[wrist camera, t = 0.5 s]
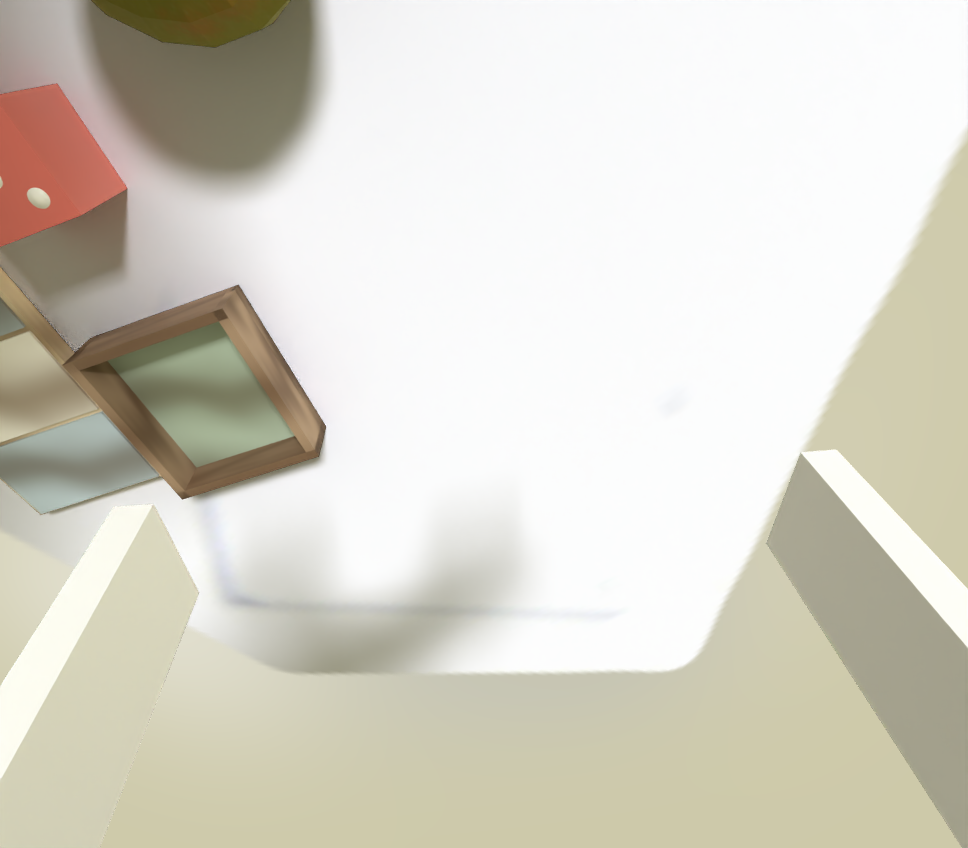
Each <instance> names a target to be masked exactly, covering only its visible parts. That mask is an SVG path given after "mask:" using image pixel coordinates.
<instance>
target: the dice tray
mask: <svg viewBox="0 0 968 848" xmlns="http://www.w3.org/2000/svg"><path fill="white" fill-rule="evenodd" d="M62 366H63V367H64V368H65V369H66V370H67V372H68V373H69V374H70V375H71V376H72V377H73V378H74V379H75V380H76V382H77V383H78V384H79V385H80V386H81V387H82V388H83V389H84V390H85V392H86V393H87V394H88V395H89V396H90V397H91V398H92V399H93V401H94V402H95V403H96V404H97V405H98V406H99V407H100V408H101V409H102V411H103V412H104V413H105V414H106V415H107V416H108V417H109V418H110V419H111V421H112V422H113V423H114V424H115V425H116V426H117V427H118V428H119V429H120V431H121V432H122V433H123V434H124V435H125V436H126V437H127V438H128V440H129V441H130V442H131V443H132V444H133V445H134V446H135V447H136V448H137V450H138V451H139V452H140V453H141V454H142V455H143V456H144V457H145V458H146V460H147V461H148V462H149V463H150V464H151V465H152V466H153V467H154V468H155V470H156V471H157V472H158V473H159V474H160V475H161V476H162V477H163V479H164V480H165V481H166V482H167V483H168V484H169V485H170V486H171V487H172V489H173V490H174V491H175V492H176V493H177V494H178V495H179V496H180V497H181V499H186V498H189V497H192V496H195V495H198V494H201V493H205V492H208V491H211V490H214V489H217V488H220V487H224V486H227V485H230V484H233V483H236V482H239V481H243V480H246V479H249V478H252V477H255V476H259V475H262V474H265V473H268V472H271V471H274V470H278V469H281V468H284V467H287V466H290V465H293V464H297V463H300V462H303V461H306V460H309V459H312V458H316V457H319V454H320V450H321V446H322V442H323V438H324V433H325V429H326V426H325V424H324V422H323V421H322V419H321V418H320V416H319V414H318V413H317V411H316V409H315V408H314V406H313V405H312V403H311V401H310V400H309V398H308V396H307V395H306V393H305V392H304V390H303V388H302V387H301V385H300V384H299V382H298V380H297V379H296V377H295V375H294V374H293V372H292V371H291V369H290V367H289V366H288V364H287V362H286V361H285V359H284V358H283V356H282V354H281V353H280V351H279V349H278V348H277V346H276V345H275V343H274V341H273V340H272V338H271V337H270V335H269V333H268V332H267V330H266V328H265V327H264V325H263V324H262V322H261V320H260V319H259V317H258V315H257V314H256V312H255V311H254V309H253V307H252V306H251V304H250V302H249V301H248V299H247V298H246V296H245V294H244V293H243V291H242V289H241V288H240V286H239V285H237V286H234V287H231V288H228V289H225V290H223V291H220V292H217V293H214V294H212V295H209V296H206V297H203V298H200V299H198V300H195V301H192V302H189V303H187V304H184V305H181V306H178V307H175V308H173V309H170V310H167V311H164V312H162V313H159V314H156V315H153V316H150V317H148V318H145V319H142V320H139V321H137V322H134V323H131V324H128V325H125V326H123V327H120V328H117V329H114V330H112V331H109V332H106V333H103V334H100V335H98V336H95V337H92V338H90V339H89V340H88V341H87V342H86V343H85V344H84V345H83V346H82V347H80V348H79V349H78V350H77V351H76V352H75V353H74V354H73V355H72V356H71V357H70V358H69V359H68V360H67V361H66V362H65V363H64V364H63V365H62Z"/></svg>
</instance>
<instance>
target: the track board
mask: <svg viewBox="0 0 968 848" xmlns="http://www.w3.org/2000/svg"><path fill="white" fill-rule="evenodd" d="M73 354H74V351H73V350H72V349H71V348H70V347H69V346H68V345H67V343H66V342H65V341H64V340H63V339H62V338H61V336H60V335H59V334H58V333H57V332H56V331H55V330H54V328H53V327H52V326H51V325H50V324H49V323H48V321H47V320H46V319H45V318H44V317H43V316H42V315H41V313H40V312H39V311H38V310H37V309H36V308H35V306H34V305H33V304H32V303H31V302H30V301H29V300H28V298H27V297H26V296H25V295H24V294H23V293H22V292H21V290H20V289H19V288H18V287H17V286H16V285H15V283H14V282H13V281H12V280H11V279H10V278H9V277H8V275H7V274H6V273H5V272H4V271H3V270H2V268H1V267H0V479H1V480H2V481H3V482H4V483H5V484H6V485H8V486H9V487H10V488H11V489H12V490H13V491H14V492H15V493H17V494H18V495H19V496H20V497H21V498H22V499H23V500H25V501H26V502H27V503H28V504H29V505H30V506H31V507H32V508H34V509H35V510H36V511H37V512H38V513H39V514H40V515H42V514H45V513H48V512H51V511H54V510H57V509H61V508H64V507H67V506H70V505H73V504H76V503H79V502H82V501H85V500H88V499H92V498H95V497H98V496H101V495H104V494H107V493H110V492H113V491H116V490H119V489H123V488H126V487H129V486H132V485H135V484H138V483H141V482H144V481H147V480H150V479H154V478H157V477H160V476H161V475H160V474H159V473H158V472H157V471H156V470H155V468H154V467H153V466H152V465H151V464H150V463H149V462H148V461H147V460H146V458H145V457H144V456H143V455H142V454H141V453H140V452H139V451H138V450H137V448H136V447H135V446H134V445H133V444H132V443H131V442H130V441H129V440H128V438H127V437H126V436H125V435H124V434H123V433H122V432H121V431H120V429H119V428H118V427H117V426H116V425H115V424H114V423H113V422H112V421H111V419H110V418H109V417H108V416H107V415H106V414H105V413H104V412H103V411H102V409H101V408H100V407H99V406H98V405H97V404H96V403H95V402H94V401H93V399H92V398H91V397H90V396H89V395H88V394H87V393H86V392H85V390H84V389H83V388H82V387H81V386H80V385H79V384H78V383H77V382H76V380H75V379H74V378H73V377H72V376H71V375H70V374H69V373H68V372H67V370H66V369H65V368H64V367H63V366H62V365H63V364H64V363H65V362H66V361H67V360H68V359H69V358H70V357H71V356H72V355H73Z"/></svg>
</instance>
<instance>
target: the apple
mask: <svg viewBox="0 0 968 848" xmlns="http://www.w3.org/2000/svg"><path fill="white" fill-rule="evenodd" d="M91 1H92V2H93V3H94V4H95V5H96V6H97V7H98V8H99V9H101V10H102V11H103V12H104V13H105V14H106V15H108V16H110V17H112V18H114V19H116V20H118V21H120V22H122V23H124V24H126V25H128V26H130V27H132V28H135V29H137V30H139V31H141V32H143V33H145V34H147V35H149V36H151V37H153V38H155V39H157V40H159V41H161V42H167V43H177V44H186V45H196V46H206V47H218V46H220V45H223V44H226V43H228V42H231V41H233V40H236V39H238V38H241V37H243V36H246V35H249V34H251V33H254V32H256V31H259V30H261V29H263V28H265V27H267V26H269V25H271V24H273V23H274V21H275V20H276V19H277V18H278V16H279V15H280V14H281V12H282V11H283V10H284V8H285V7H286V6H287V5H288V3H289V2H290V1H291V0H91Z"/></svg>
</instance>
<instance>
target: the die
mask: <svg viewBox="0 0 968 848" xmlns="http://www.w3.org/2000/svg"><path fill="white" fill-rule="evenodd" d="M126 189H127V187H126V186H125V184H124V183H123V181H122V180H121V178H120V177H119V175H118V174H117V172H116V171H115V169H114V168H113V166H112V165H111V163H110V162H109V160H108V159H107V157H106V156H105V154H104V153H103V151H102V150H101V148H100V147H99V145H98V144H97V142H96V141H95V139H94V138H93V136H92V135H91V133H90V132H89V130H88V129H87V127H86V126H85V124H84V123H83V121H82V120H81V118H80V117H79V115H78V114H77V112H76V111H75V110H74V108H73V107H72V105H71V104H70V102H69V101H68V99H67V98H66V96H65V95H64V93H63V92H62V90H61V89H60V87H59V86H58V84H52V85H47V86H42V87H36V88H31V89H25V90H20V91H15V92H9V93H4V94H0V247H1V246H4V245H6V244H9V243H12V242H14V241H17V240H19V239H22V238H24V237H27V236H30V235H32V234H35V233H37V232H40V231H42V230H45V229H47V228H50V227H53V226H55V225H58V224H60V223H63V222H65V221H68V220H71V219H73V218H76V217H78V216H81V215H83V214H85V213H86V212H88V211H90V210H91V209H93V208H95V207H97V206H98V205H100V204H102V203H103V202H105V201H107V200H109V199H110V198H112V197H114V196H116V195H117V194H119V193H121V192H122V191H124V190H126Z"/></svg>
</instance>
